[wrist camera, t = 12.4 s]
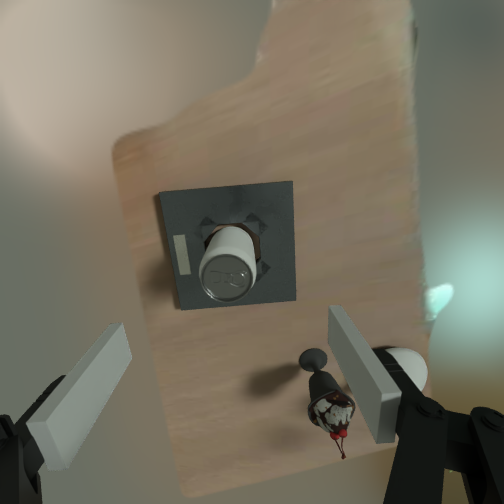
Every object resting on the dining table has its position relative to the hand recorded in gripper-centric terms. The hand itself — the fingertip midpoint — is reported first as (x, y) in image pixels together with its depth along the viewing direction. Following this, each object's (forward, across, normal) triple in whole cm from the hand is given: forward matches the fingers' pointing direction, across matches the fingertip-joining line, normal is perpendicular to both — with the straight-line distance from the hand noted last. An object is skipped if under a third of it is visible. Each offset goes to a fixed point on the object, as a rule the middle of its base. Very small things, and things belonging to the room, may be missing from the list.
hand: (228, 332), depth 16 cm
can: (+23, -1, -1) cm, 23 cm away
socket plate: (+23, -1, -1) cm, 23 cm away
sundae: (+23, +11, -23) cm, 35 cm away
